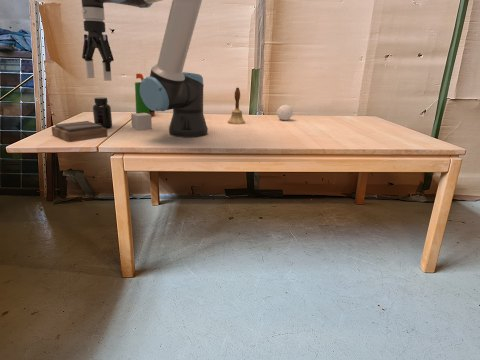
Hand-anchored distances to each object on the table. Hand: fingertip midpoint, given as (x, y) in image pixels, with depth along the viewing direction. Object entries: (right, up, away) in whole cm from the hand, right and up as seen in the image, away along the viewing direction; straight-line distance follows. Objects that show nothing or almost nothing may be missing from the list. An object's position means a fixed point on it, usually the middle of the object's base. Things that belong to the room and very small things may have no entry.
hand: (99, 79), depth 145 cm
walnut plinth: (-3, -23, -9) cm, 25 cm away
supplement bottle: (0, -18, +6) cm, 19 cm away
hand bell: (+54, -13, +27) cm, 62 cm away
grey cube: (+15, -19, +7) cm, 25 cm away
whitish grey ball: (+78, -10, +38) cm, 87 cm away
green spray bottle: (+9, -8, +37) cm, 39 cm away
